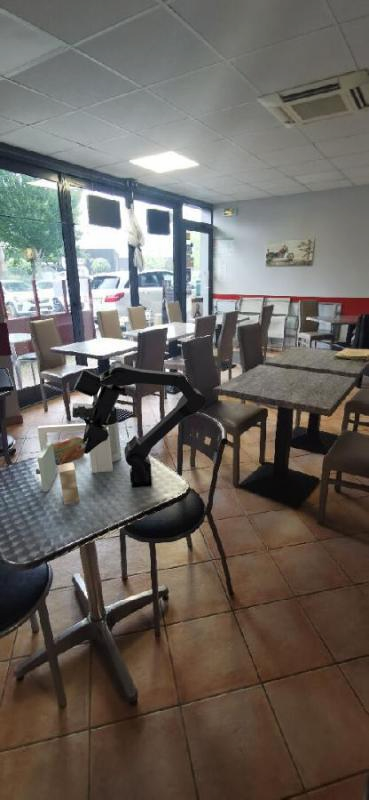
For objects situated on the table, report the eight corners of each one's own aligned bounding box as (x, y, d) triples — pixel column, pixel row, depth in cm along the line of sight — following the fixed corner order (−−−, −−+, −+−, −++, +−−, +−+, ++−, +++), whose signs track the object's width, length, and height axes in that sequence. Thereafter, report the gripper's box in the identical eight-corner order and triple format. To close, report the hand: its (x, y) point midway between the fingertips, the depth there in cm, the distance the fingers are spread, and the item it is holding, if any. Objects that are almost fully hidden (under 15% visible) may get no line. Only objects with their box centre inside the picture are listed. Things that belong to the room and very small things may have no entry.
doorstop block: (77, 493, 127) (73, 462, 124) (79, 501, 123) (74, 469, 119) (62, 496, 126) (58, 465, 122) (64, 504, 121) (59, 472, 118)
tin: (51, 468, 144) (47, 447, 141) (47, 465, 146) (44, 445, 143) (88, 455, 153) (85, 435, 150) (84, 452, 155) (81, 432, 153)
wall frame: (112, 468, 142) (107, 421, 136) (112, 471, 140) (106, 424, 134) (47, 472, 141) (39, 425, 135) (45, 476, 139) (37, 428, 133)
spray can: (125, 456, 150) (120, 407, 144) (113, 464, 145) (107, 413, 139) (111, 453, 154) (106, 404, 147) (99, 460, 148) (93, 410, 142)
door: (47, 491, 128) (42, 457, 124) (38, 491, 128) (32, 458, 124) (57, 472, 139) (52, 441, 136) (48, 473, 139) (43, 442, 135)
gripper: (79, 384, 126) (60, 427, 129) (81, 401, 109) (58, 451, 111) (111, 397, 130) (92, 439, 133) (118, 416, 113) (96, 463, 115)
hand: (84, 447), depth 123 cm, fingers open, 9 cm apart
